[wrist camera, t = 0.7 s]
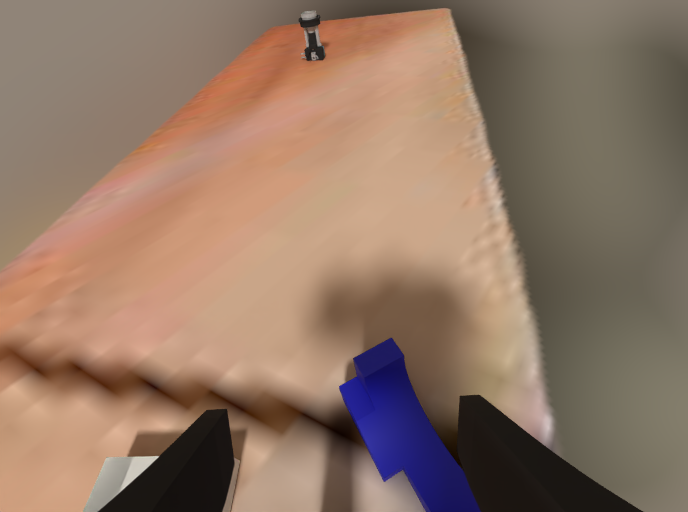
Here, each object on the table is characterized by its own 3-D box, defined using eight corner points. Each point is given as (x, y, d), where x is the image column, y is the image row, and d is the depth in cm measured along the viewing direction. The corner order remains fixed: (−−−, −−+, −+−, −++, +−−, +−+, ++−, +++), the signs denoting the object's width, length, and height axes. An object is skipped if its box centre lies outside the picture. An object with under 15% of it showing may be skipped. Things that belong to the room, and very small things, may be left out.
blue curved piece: (343, 400, 25) (332, 369, 21) (392, 373, 26) (391, 337, 22) (442, 599, 18) (457, 615, 13) (505, 549, 19) (538, 548, 14)
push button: (298, 63, 84) (289, 16, 77) (304, 56, 87) (296, 11, 80) (322, 61, 82) (315, 14, 75) (328, 55, 86) (321, 8, 78)
